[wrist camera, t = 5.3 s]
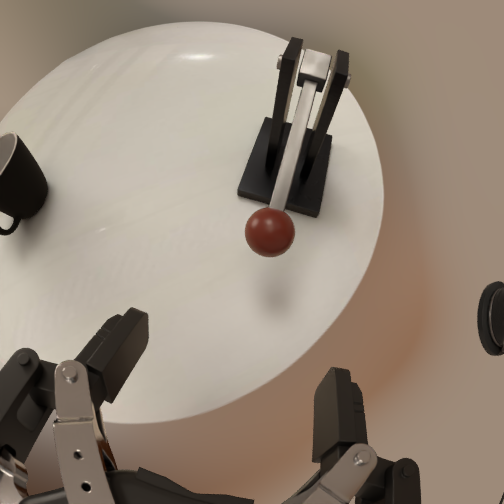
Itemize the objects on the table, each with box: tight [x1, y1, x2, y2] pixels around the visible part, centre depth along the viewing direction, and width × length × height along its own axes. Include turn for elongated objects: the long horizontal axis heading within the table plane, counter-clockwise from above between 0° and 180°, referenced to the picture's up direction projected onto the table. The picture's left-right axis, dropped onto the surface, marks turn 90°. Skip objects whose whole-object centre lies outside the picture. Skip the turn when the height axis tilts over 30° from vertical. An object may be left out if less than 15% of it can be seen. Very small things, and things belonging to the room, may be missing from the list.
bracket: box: [237, 37, 351, 218], centre depth 24 cm, size 12×9×16 cm
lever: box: [245, 49, 332, 257], centre depth 19 cm, size 17×4×4 cm, turn 164°
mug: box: [0, 132, 47, 235], centre depth 23 cm, size 12×9×10 cm
